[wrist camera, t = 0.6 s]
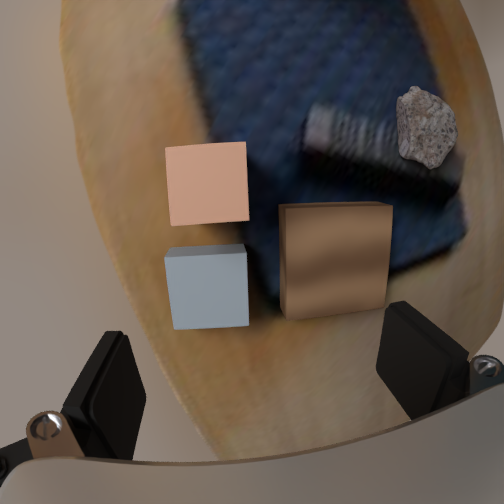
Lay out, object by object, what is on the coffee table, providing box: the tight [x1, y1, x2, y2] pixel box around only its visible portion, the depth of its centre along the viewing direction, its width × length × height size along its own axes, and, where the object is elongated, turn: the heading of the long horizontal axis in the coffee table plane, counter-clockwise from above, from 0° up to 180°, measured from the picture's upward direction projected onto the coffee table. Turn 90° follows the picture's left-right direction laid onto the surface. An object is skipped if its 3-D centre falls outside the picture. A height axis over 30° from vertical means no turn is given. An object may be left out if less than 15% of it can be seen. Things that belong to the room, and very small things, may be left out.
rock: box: [396, 86, 458, 169], centre depth 29 cm, size 9×11×4 cm
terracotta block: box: [165, 142, 249, 226], centre depth 26 cm, size 6×6×9 cm
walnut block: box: [278, 202, 393, 321], centre depth 32 cm, size 12×12×4 cm
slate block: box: [164, 244, 249, 329], centre depth 32 cm, size 8×8×4 cm
